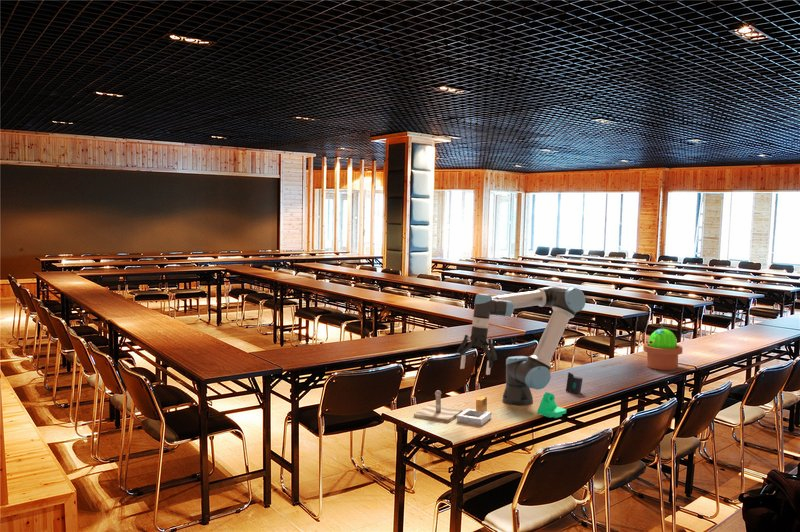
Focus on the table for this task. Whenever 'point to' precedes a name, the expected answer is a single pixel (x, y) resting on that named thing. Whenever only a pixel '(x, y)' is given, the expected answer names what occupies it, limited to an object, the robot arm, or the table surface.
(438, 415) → the board
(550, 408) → the camera mount
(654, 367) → the potted cactus
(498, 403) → the table surface
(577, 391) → the speaker
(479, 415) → the square frame with handle
